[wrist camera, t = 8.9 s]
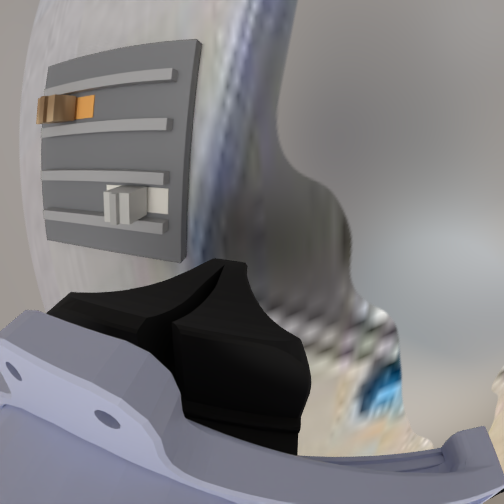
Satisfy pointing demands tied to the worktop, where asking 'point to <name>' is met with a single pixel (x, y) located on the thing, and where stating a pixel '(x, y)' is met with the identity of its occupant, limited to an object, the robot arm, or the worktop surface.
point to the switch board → (122, 147)
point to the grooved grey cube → (125, 204)
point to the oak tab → (55, 109)
